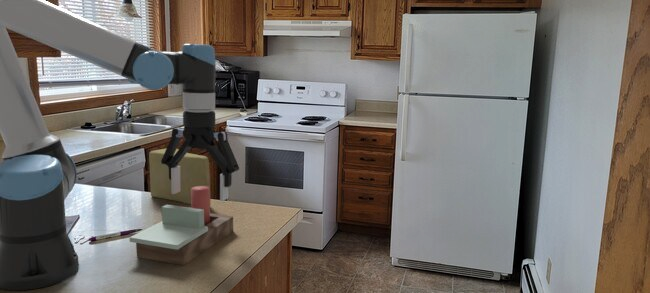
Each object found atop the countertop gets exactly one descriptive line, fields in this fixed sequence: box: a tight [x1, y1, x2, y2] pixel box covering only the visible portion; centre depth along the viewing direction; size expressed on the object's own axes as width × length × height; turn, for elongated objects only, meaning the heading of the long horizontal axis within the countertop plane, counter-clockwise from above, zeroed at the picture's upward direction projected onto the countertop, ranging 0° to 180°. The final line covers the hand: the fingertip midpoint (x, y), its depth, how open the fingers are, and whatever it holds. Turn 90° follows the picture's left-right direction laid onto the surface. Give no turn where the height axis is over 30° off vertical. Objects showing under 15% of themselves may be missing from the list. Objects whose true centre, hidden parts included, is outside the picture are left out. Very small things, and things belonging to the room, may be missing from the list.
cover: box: [129, 204, 208, 250], centre depth 110 cm, size 12×12×5 cm
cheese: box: [148, 147, 211, 205], centre depth 150 cm, size 22×10×15 cm, turn 54°
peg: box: [190, 186, 211, 225], centre depth 122 cm, size 4×4×12 cm
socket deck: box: [135, 212, 234, 266], centre depth 117 cm, size 22×12×4 cm, turn 162°
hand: (199, 196), depth 121 cm, fingers open, 13 cm apart
